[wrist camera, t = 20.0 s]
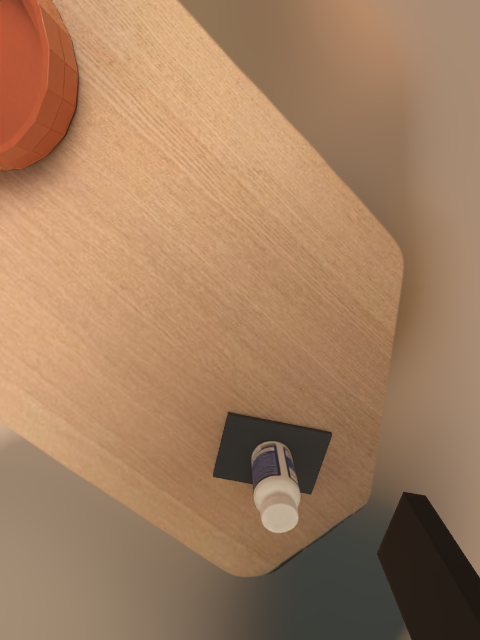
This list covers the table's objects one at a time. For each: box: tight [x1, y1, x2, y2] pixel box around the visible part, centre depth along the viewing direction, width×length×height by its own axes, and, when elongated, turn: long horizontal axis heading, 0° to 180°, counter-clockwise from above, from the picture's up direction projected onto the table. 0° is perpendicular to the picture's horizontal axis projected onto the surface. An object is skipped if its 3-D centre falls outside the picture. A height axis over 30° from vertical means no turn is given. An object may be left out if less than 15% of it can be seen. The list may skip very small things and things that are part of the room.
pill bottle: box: [252, 441, 300, 533], centre depth 40 cm, size 5×5×10 cm
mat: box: [213, 412, 332, 494], centre depth 45 cm, size 14×10×1 cm
